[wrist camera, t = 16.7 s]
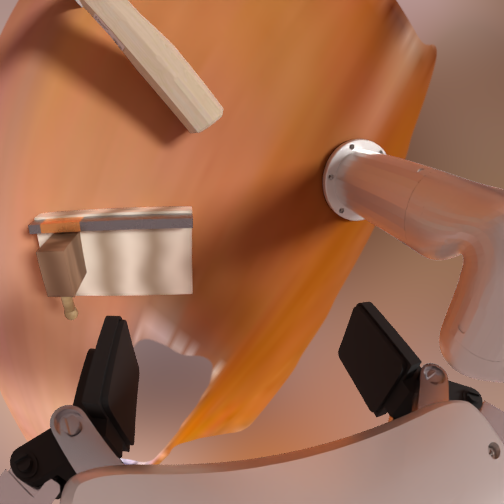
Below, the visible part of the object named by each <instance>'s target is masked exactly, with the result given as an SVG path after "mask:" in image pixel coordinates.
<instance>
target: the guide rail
mask: <svg viewBox="0 0 504 504" xmlns="http://www.w3.org/2000/svg"><path fill="white" fill-rule="evenodd" d="M28 227H29V232H30V234H41V233H59V232H79V231H103V230H131V229H170V228H193V216H192V213H169V214H132V215H107V216H87V217H70V218H55V219H41V220H34V221H33V222H32V223H30V224H29V225H28Z"/></svg>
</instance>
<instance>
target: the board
mask: <svg viewBox="0 0 504 504" xmlns="http://www.w3.org/2000/svg"><path fill="white" fill-rule="evenodd" d="M169 213H192V206H175V207H135V208H111V209H92V210H75V211H61V212H48V213H40V214H39V215H37V216H36V217H35V220H41V219H55V218H70V217H87V216H107V215H132V214H169ZM53 234H54V233H41V234H37V236H38V241H39V246H40V247H41V246H42V245H43V244H44V243H45V242H46V241H47V240H48V239H49V238H50V237H51V236H52V235H53ZM80 236H81V243H82V249H83V255H84V260H85V266H86V271H87V273H86V275H85V277H84V279H83V281H82V283H81V285H80V287H79V289H78V291H77V293H76V296H127V295H174V294H193V290H192V228H170V229H131V230H103V231H80Z"/></svg>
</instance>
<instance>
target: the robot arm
mask: <svg viewBox="0 0 504 504" xmlns="http://www.w3.org/2000/svg"><path fill="white" fill-rule="evenodd" d="M349 146H350V147H349ZM328 176H329V177H328ZM323 191H324V195H325V198H326V201H327V203H328V205H329V206H330V208H331V209H332V210H333V211H334V212H335V213H337V214H338V215H339V216H341V217H343V218H345V219H348V220H351V221H359V220H364V219H366V220H368V221H369V222H371V223H372V224H374V225H376V226H377V227H379V228H381V229H382V230H384V231H385V232H387V233H388V234H390V235H392V236H393V237H395V238H396V239H398V240H399V241H401V242H402V243H404V244H405V245H407V246H409V247H410V248H411V249H413V250H415V251H416V252H418V253H419V254H421V255H422V256H424V257H426V258H429V259H432V260H446V259H449V258H453V257H455V256H458V255H460V254H462V255H463V266H462V270H461V273H460V278H459V281H458V284H457V287H456V289H455V292H454V295H453V297H452V300H451V303H450V305H449V308H448V310H447V313H446V316H445V318H444V321H443V324H442V326H441V330H440V335H439V345H440V350H441V353H442V355H443V357H444V359H445V360H446V362H447V363H448V364H449V365H450V366H451V367H452V368H453V369H455V370H456V371H458V372H459V373H461V374H463V375H465V376H468V377H471V378H474V379H478V380H484V381H493V382H504V189H499V188H495V187H491V186H487V185H484V184H480V183H477V182H474V181H471V180H467V179H464V178H462V177H459V176H456V175H453V174H450V173H447V172H444V171H441V170H438V169H434V168H431V167H428V166H425V165H422V164H418V163H415V162H411V161H408V160H404V159H401V158H397V157H393V156H389V155H387V154H386V153H385V151H384V150H383V149H382V148H381V147H380V146H379V145H377V144H376V143H374V142H372V141H369V140H365V139H353V140H349V141H347V142H345V143H343V144H341V145H340V146H339V147H337V148H336V149H335V151H334V152H333V153H332V154H331V156H330V157H329V159H328V161H327V163H326V166H325V169H324V174H323ZM338 354H339V358H340V360H341V361H342V363H343V365H344V366H345V368H346V370H347V372H348V373H349V375H350V377H351V378H352V380H353V382H354V384H355V385H356V387H357V389H358V390H359V392H360V394H361V395H362V397H363V399H364V401H365V403H366V404H367V406H368V408H369V410H370V411H371V412H374V414H375V415H376V417H379V416H381V415H384V414H386V413H387V412H388V413H389V415H390V416H389V420H388V423H385V424H383V425H380V426H377V427H375V428H373V429H369V430H367V431H364V432H361V433H358V434H355V435H353V436H349V437H346V438H343V439H339V440H337V441H333V442H329V443H326V444H322V445H318V446H315V447H311V448H307V449H303V450H298V451H293V452H289V453H284V454H279V455H273V456H268V457H261V458H255V459H248V460H240V461H231V462H220V463H207V464H186V465H135V464H132V465H125V464H124V463H123V462H122V461H121V460H120V458H121V457H122V451H127V452H129V449H130V445H134V436H135V417H136V404H137V392H138V382H139V366H138V363H137V359H136V356H135V352H134V349H133V345H132V341H131V337H130V333H129V329H128V325H127V322H126V320H122V318H121V316H106V318H105V320H104V323H103V326H102V330H101V333H100V336H99V339H98V342H97V345H96V349H89V350H88V353H87V356H86V359H85V362H84V365H83V369H82V372H81V376H80V379H79V383H78V387H77V391H76V395H75V399H74V403H73V405H65V406H62V407H60V408H58V409H57V410H55V412H54V413H53V414H52V416H51V419H50V427H51V428H50V429H48V430H47V431H45V432H44V433H42V434H40V435H39V436H37V437H35V438H34V439H32V440H30V441H29V442H27V443H25V444H24V445H22V446H20V447H19V448H17V449H16V450H15V451H14V452H13V454H12V455H11V459H10V465H11V468H10V470H9V471H8V470H6V469H5V471H4V472H3V473H2V474H1V476H0V504H52V502H53V501H54V500H55V499H60V498H61V499H60V504H504V412H503V411H501V410H500V409H498V408H496V407H495V406H493V405H491V404H490V403H488V402H486V401H484V402H483V403H482V397H481V395H480V394H479V392H477V391H476V390H475V389H473V388H471V387H467V386H464V385H461V384H458V383H454V382H451V381H448V375H447V373H446V371H445V370H444V369H443V368H442V367H440V366H439V365H437V364H433V363H429V364H425V365H423V367H422V368H421V367H420V366H419V365H420V363H421V361H420V359H419V358H418V357H417V356H416V354H415V353H414V352H413V351H412V349H411V348H410V347H409V346H408V345H407V343H406V342H405V341H404V340H403V339H402V337H401V336H400V335H399V334H398V333H397V331H396V330H395V329H394V328H393V327H392V326H391V324H390V323H389V322H388V321H387V320H386V319H385V317H384V316H383V315H382V314H381V313H380V312H379V310H378V309H377V308H376V307H375V306H374V305H373V304H372V303H371V302H363V303H358V304H357V306H356V307H354V309H353V312H352V314H351V317H350V320H349V323H348V326H347V329H346V332H345V335H344V337H343V340H342V343H341V345H340V348H339V351H338Z"/></svg>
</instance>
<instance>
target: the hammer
mask: <svg viewBox="0 0 504 504" xmlns="http://www.w3.org/2000/svg"><path fill="white" fill-rule="evenodd" d="M75 1H76V2H77V3H78V4H79V5H80V6H81V7H84V8H85V9H86V10H87V11H88V12H89V13H90V14H91V16H92V17H93V18H94V19H95V20H96V21H97V22H98V23H99V24H100V25H101V26H102V28H103V29H104V30H105V31H106V32H107V33H108V34H109V35H110V36H111V38H112V39H113V40H114V41H115V43H116V44H117V45H118V46H119V48H120V49H121V50H122V51H123V53H124V54H125V55H126V56H127V58H128V59H129V60H130V62H131V63H132V64H133V65H134V67H135V68H136V69H137V70H138V72H139V73H140V74H141V75H142V76H143V77H144V79H145V80H146V81H147V82H148V83H149V84H150V86H151V87H152V88H153V89H154V90H155V92H156V93H157V94H158V95H159V96H160V97H161V99H162V100H163V101H164V102H165V103H166V105H167V106H168V107H169V108H170V109H171V110H172V112H173V113H174V114H175V115H176V116H177V118H178V119H179V120H180V121H181V122H182V124H183V125H184V126H185V127H186V128H187V130H188V131H189V132H190V133H200V132H202V131H203V130H205V129H206V128H208V127H209V126H211V125H212V124H213V123H215V122H216V121H217V120H218V119H219V118H220V117H222V114H223V107H222V106H221V105H220V103H219V102H218V101H217V99H216V98H215V97H214V95H213V94H212V93H211V91H210V90H209V89H208V88H207V86H206V85H205V84H204V82H203V81H202V80H201V79H200V77H199V76H198V75H197V73H196V72H195V71H194V70H193V68H192V67H191V66H190V65H189V63H188V62H187V61H186V60H185V59H184V57H183V56H182V55H181V54H180V53H179V51H178V50H177V49H176V48H175V47H174V45H173V44H172V43H171V42H170V41H169V40H168V39H167V38H166V37H165V36H164V35H162V34H161V33H160V32H159V31H158V30H157V29H156V28H155V27H154V26H153V25H152V24H151V23H150V22H149V21H148V20H147V19H146V18H144V17H143V16H142V15H141V14H140V13H139V12H138V11H137V10H136V8H135V7H134V6H133V5H132V4H131V3H130V2H129V1H128V0H75Z"/></svg>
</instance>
